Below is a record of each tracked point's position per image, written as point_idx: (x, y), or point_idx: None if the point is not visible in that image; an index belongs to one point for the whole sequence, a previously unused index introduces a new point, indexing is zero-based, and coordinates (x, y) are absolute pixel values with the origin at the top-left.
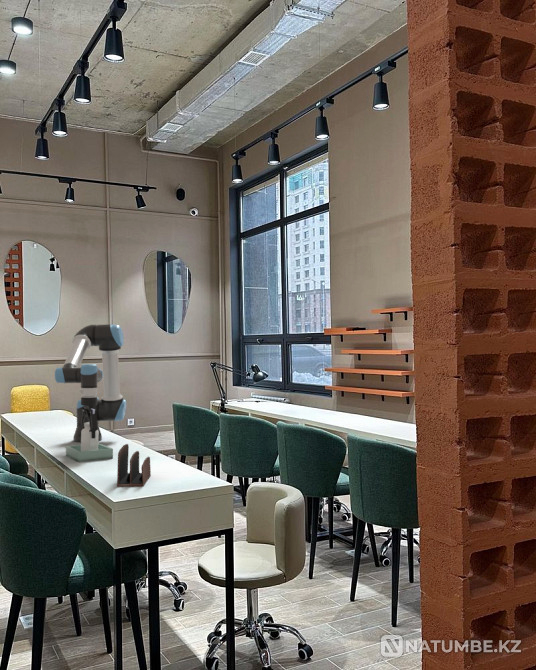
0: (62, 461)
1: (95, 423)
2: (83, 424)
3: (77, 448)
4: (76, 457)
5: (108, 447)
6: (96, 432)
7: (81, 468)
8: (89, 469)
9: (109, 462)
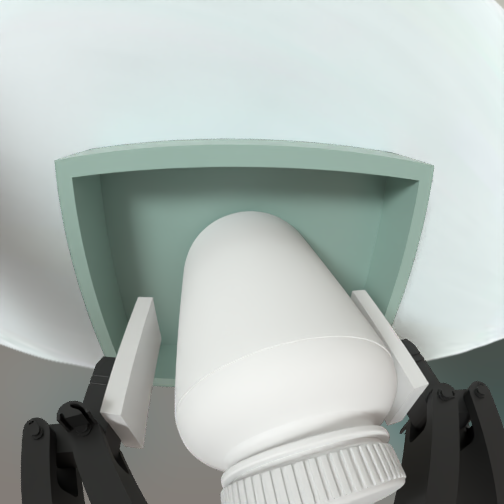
0: None
1: (494, 448)
2: (142, 498)
3: (114, 319)
4: None
5: (366, 163)
6: (393, 362)
7: (450, 336)
8: (475, 317)
9: (458, 221)
